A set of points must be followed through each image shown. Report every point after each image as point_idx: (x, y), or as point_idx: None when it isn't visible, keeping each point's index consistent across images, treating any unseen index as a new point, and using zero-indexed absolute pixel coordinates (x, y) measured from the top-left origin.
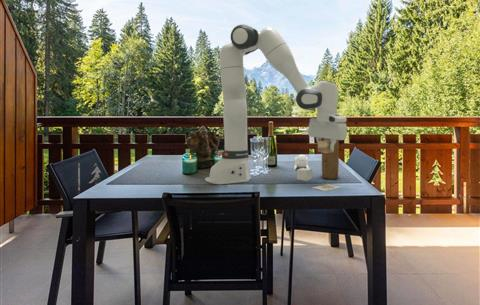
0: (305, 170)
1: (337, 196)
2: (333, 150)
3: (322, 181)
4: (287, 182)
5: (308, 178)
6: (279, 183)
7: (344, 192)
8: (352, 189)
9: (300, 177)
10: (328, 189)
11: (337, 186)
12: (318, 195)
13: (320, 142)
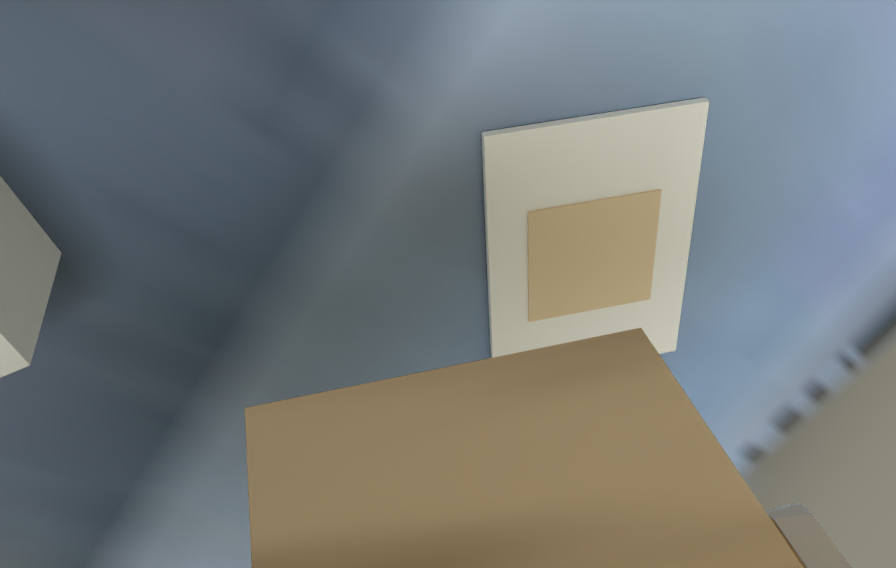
0: (11, 368)
1: (875, 346)
2: (670, 381)
3: (216, 53)
4: (71, 482)
5: (8, 208)
6: (92, 560)
7: (855, 206)
8: (861, 22)
9: None
10: (678, 297)
11: (653, 115)
12: (732, 453)
13: None
